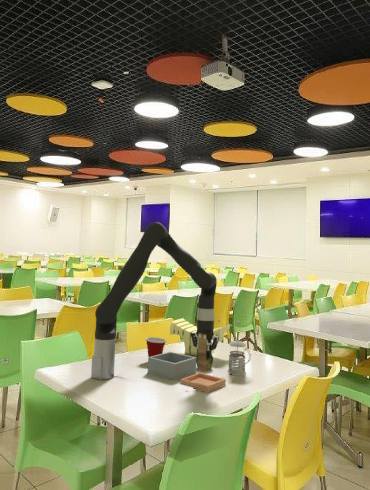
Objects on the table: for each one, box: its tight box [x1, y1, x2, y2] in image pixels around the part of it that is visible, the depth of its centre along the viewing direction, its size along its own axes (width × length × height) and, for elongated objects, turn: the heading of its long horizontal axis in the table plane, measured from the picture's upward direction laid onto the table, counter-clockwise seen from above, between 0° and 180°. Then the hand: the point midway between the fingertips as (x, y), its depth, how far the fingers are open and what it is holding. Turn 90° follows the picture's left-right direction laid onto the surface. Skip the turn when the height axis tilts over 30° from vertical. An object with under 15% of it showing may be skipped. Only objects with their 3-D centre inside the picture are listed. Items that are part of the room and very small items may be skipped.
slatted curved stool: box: [169, 317, 231, 357], centre depth 232 cm, size 30×16×18 cm, turn 65°
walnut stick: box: [196, 333, 211, 373], centre depth 177 cm, size 4×4×16 cm
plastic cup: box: [145, 336, 167, 357], centre depth 211 cm, size 11×11×12 cm
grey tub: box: [147, 351, 197, 381], centre depth 190 cm, size 16×16×8 cm
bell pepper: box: [195, 354, 214, 370], centre depth 200 cm, size 8×8×10 cm
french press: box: [226, 320, 252, 376], centre depth 197 cm, size 10×12×25 cm
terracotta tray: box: [180, 372, 227, 393], centre depth 176 cm, size 14×14×2 cm
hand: (204, 358), depth 177 cm, fingers closed on walnut stick, 4 cm apart
